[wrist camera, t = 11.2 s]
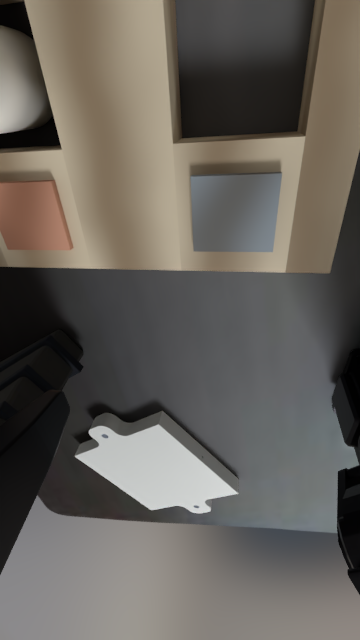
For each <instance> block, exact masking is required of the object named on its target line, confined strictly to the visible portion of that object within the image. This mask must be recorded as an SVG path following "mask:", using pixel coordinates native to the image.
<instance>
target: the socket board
mask: <svg viewBox="0 0 360 640" xmlns="http://www.w3.org/2000/svg"><path fill="white" fill-rule="evenodd" d="M23 1H25V5H26V9H27V13H28V17H29V21H30V25H31V29H32V33H33V37H34V41H35V45H36V49H37V53H38V57H39V61H40V65H41V69H42V73H43V77H44V81H45V85H46V88H47V92H48V96H49V100H50V104H51V108H52V112H53V116H54V120H55V124H56V128H57V132H58V136H59V140H60V144H61V145H56V146H39V147H22V148H5V149H0V267H40V268H89V269H138V270H188V271H237V272H286V273H330V271H331V266H332V262H333V258H334V254H335V250H336V246H337V242H338V237H339V233H340V229H341V225H342V221H343V217H344V213H345V208H346V204H347V200H348V196H349V192H350V188H351V183H352V179H353V175H354V171H355V167H356V163H357V159H358V154H359V150H360V0H315V4H314V12H313V19H312V27H311V34H310V42H309V49H308V57H307V64H306V71H305V79H304V86H303V94H302V101H301V109H300V116H299V124H298V131H296V132H279V133H262V134H245V135H228V136H211V137H194V138H182V125H181V106H180V86H179V67H178V48H177V28H176V9H175V0H0V5H4V4H10V3H17V2H23Z"/></svg>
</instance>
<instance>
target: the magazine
mask: <svg viewBox="0 0 360 640" xmlns="http://www.w3.org/2000/svg"><path fill="white" fill-rule="evenodd" d="M82 356H83V351H82V350H81V349H80V348H79V347H78V346H77V345H76V344H75V343H74V342H73V341H72V340H71V339H70V338H69V337H68V336H67V335H66V334H65V333H64V332H63V331H62V330H56V331H55V332H53V333H51V334H49V335H47V336H46V337H44V338H42V339H40V340H39V341H37V342H35V343H33V344H31V345H30V346H28V347H26V348H24V349H23V350H21V351H19V352H17V353H15V354H14V355H12V356H10V357H8V358H7V359H5V360H3V361H1V362H0V425H1V424H2V423H4V422H5V421H7V420H8V419H9V418H11V417H12V416H14V415H15V414H16V413H18V412H19V411H20V410H22V409H23V408H25V407H26V406H27V405H29V404H30V403H32V402H33V401H34V400H36V399H37V398H39V397H40V396H41V395H43V394H44V393H45V392H47V391H49V390H61V391H62V389H63V387H64V385H65V383H66V382H67V380H68V378H70V377H72V376H74V375H76V374H78V373H79V372H81V370H82V368H83V366H82V365H81V364H80V363H79V360H80V359H81V357H82Z"/></svg>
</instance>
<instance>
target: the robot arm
mask: <svg viewBox="0 0 360 640" xmlns="http://www.w3.org/2000/svg"><path fill="white" fill-rule="evenodd" d="M359 355H360V349H355V350H353V351H352V352H351V353H350V355H349V358H348V361H347V364H346V367H345V370H344V373H342V374H341V375H340V376H339V378H338V381H337V384H336V387H335V390H334V393H333V396H332V400H333V405H332V408H333V411H334V413H336V414H337V417H338V421H339V424H340V428H341V431H342V435H343V438H344V442H345V443H346V444H347V445H348V446H351V447H354V449H355V452H356V455H357V458H358V462H359V465H358V466H356V467H353V468H350V469H347V468H345V469H343V470H340V471H338V508H337V531H338V542H339V545H340V548H341V550H342V553H343V556H344V558H345V560H346V563H347V565H348V567H349V569H348V576H349V578H350V579H351V581H352V583H353V584H354V586H355V588H356V589H357V591H358V592H359V594H360V357H356V356H359ZM69 413H70V406H69V404H68V401H67V399H66V397H65V394H64V392H63V391H61V390H49V391H47V392H45V393H44V394H43V395H41V396H40V397H39V398H37V399H36V400H34V401H33V402H32V403H30V404H29V405H27V406H26V407H25V408H23V409H22V410H20V411H19V412H18V413H16V414H15V415H14V416H12V417H11V418H9V419H8V420H7V421H5V422H4V423H2V424H1V425H0V574H1V572H2V570H3V568H4V566H5V563H6V561H7V559H8V557H9V555H10V552H11V550H12V548H13V546H14V544H15V542H16V540H17V537H18V535H19V533H20V530H21V529H22V527H23V524H24V522H25V520H26V518H27V516H28V514H29V511H30V509H31V507H32V505H33V503H34V500H35V498H36V496H37V494H38V492H39V490H40V488H41V485H42V483H43V481H44V479H45V477H46V475H47V472H48V470H49V468H50V466H51V464H52V461H53V459H54V456H55V454H56V451H57V448H58V445H59V442H60V439H61V437H62V434H63V431H64V428H65V425H66V422H67V419H68V416H69Z"/></svg>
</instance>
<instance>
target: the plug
mask: <svg viewBox="0 0 360 640" xmlns="http://www.w3.org/2000/svg"><path fill="white" fill-rule="evenodd" d="M52 115H53V112H52V108H51V104H50V100H49V96H48V92H47V88H46V85H45V81H44V77H43V73H42V69H41V65H40V61H39V57H38V53H37V49H36V45H35V41H34V40H32V39H31V38H30V37H29V36H27V35H26V34H24V33H22V32H20V31H18V30H15V29H12V28H9V27H5V26H2V25H0V134H2V133H9V132H15V131H22V130H29V129H35V128H39V127H41V126H43V125H45V124H46V123H47V122H48V121H49V120H50V119H51V117H52Z"/></svg>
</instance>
